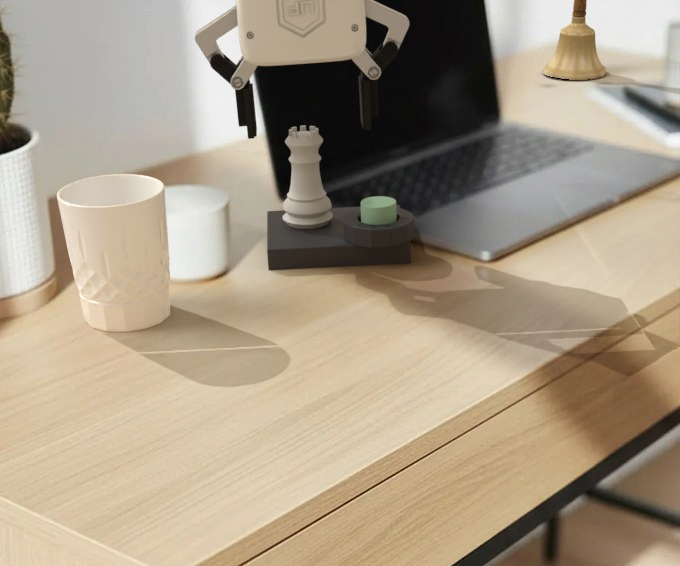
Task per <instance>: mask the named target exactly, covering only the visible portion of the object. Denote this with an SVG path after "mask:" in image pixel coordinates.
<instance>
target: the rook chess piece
mask: <svg viewBox="0 0 680 566" xmlns="http://www.w3.org/2000/svg"><path fill="white" fill-rule="evenodd" d="M323 142H324V138H323V137H322V136H321V135H320V133H319V127H316V126H315V125H309V130H307V125H306V124H305V125H300V126H299V130H298V127H297V126H292V127H290V129H288V136H287V137H286V138H285V140H284V143H285V145H286V147H288V149H289V150H290V156H289V157H288V161H289V163H290V165H291V166H290V167H291V174H290V175H291V176H290V186H289V191H288V192H287V193H286V198H285V200H284V201H283V204H282V210H284V211H285V212H286V213H285V214H284V215H283V220H284V221H285V222H286V224H287V225H289V226H290V227H293V228H298V229H314V228H319V227H322V226H325V225H327V224H328V223H329V222H330V220H331V219H332V217H333V214H332V213H331V212H330V211H329V210H330V208H333V206H332V201H331V198H330V197H328V196H327V191H325V189H324V186H323V183H322V177H321V171H320V163H321V160H322V155H320V154H319V150H320V148H321V146H322V145H323Z"/></svg>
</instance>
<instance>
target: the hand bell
mask: <svg viewBox="0 0 680 566" xmlns="http://www.w3.org/2000/svg"><path fill="white" fill-rule="evenodd" d="M587 2H588V1H587V0H574V1H573V8H572V10H573V11H572V14H571V16H572V17H571V22H570V23H569V24H568V25H567V26H564V27H563V28H561V29H560V31H559V37H558V42H557V46H556V49H555V51H554V54H553V56H552V58H551V59H550V61H549V62H548V63H547V64H546V65H545V66H544V67H543V69H542V71H543V72H544V73H545V74H547V75H549V76H552V77H557V78H561V79H569V80H568V81H590V80H597V79H600V78H603V77H605V76H606V75H607V69H606V67H605V65H603V64H602V62H601V60H600V58H599V55H598V52H597V45H596V31H595V29H594V28H592V27H590V26H589V25H588V24H587V23H586V16H587ZM561 79H560V80H561ZM588 79H590V80H588Z"/></svg>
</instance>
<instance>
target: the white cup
mask: <svg viewBox="0 0 680 566" xmlns="http://www.w3.org/2000/svg"><path fill="white" fill-rule="evenodd" d="M56 199H57V204H58V210H59V214H60V219H61V224H62V228H63V233H64V238H65V244H66V249H67V252H68V253H67V254H68V257H69V261H70V265H71V269H72V274H73V278H74V283H75V285H76V288H77V290H78V292H79V293H78V296H79V300H80V305H81V310H82V316H83V320H84V322H85V323H86V324H87V325H89V326H90V327H91V328H92V329H96V330H98V331H103V332H108V333H129V332H136V331H142V330H147V329H149V328H152V327H154V326H157V325H159V324H162V323H163V322H164V321H165V320H166V319H168V317H170V316H171V296H170V295H171V294H170V281H171V271H170V249H169V247H170V245H169V234H168V233H169V232H168V216H167V204H166V203H167V202H166V187H165V183H164V182H162V181H161V180H160V179H158V178H156V177H152V176H149V175H143V174H135V173H116V174H114V173H112V174H103V175H96V176H90V177H85V178H83V179H79V180H75V181H73V182H70V183H68V184H66V185H64V186H63V187H61V188H60V189H58V191H57V193H56Z"/></svg>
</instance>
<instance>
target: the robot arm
mask: <svg viewBox="0 0 680 566" xmlns="http://www.w3.org/2000/svg"><path fill="white" fill-rule="evenodd" d="M235 2H236V4H235V5H234V6H232V7H231V8H230V9H227V10H226V11H225V12H224V13H222V14H220V15H219V16H217V17H216V18H214V19H212V20H211V21H210V22H208V23H207V24H205V25H204V26H202V27H200V28H199V29H198V30H197V31H196V32H195V35H194V41H195V43H196V44H197V46H198V48H199V50H200V51H201V52H202V54H203V56H204V58H205V59H206V60H207V62H208V64H209V66H210V67H211V69H212V70H214V72H215V73H217V74H218V75H219V76H220V77H222V78H223V79H224V80H225V81H226V82H227V83H228V84H229V85H230V86H231V88H232V89H233V90H234V95H235V102H236V111H237V113H236V114H237V121H238V127H246V131H247V139H248V140H249V139H250V140H251V139H255V138H256V137H257V135H258V133H257V132H258V125H257V116H256V115H257V114H256V106H255V105H256V104H255V94H254V85H253V83H251V80H250V79H251V77H252V76H253V74H254V72H255V71H256V70H257V68H258V67H275V66H292V65H304V64H305V65H306V64H317V63H318V64H319V63H333V62H342V61H343V62H344V61H349V60H351V61H352V62H353V63H354V64H355V65H356V66H357V67H358V69H359V70H360V75H358V90H359V91H358V95H359V111H360V112H359V113H360V123H361V128H362V130H365V131H372V118H375V117H379V116H380V115H379V114H380V111H379V109H380V108H379V88H378V87H379V86H378V80H379V78H381V75H382V73H383V71H384V70H386V68H387V67H388V66H389V64H391V62H392V61H393V60H394V59H395V58H396V57H397V55H398V54H399V49H400V47H401V45H402V43H403V41H404V39H405V36H406V34H407V32H408V30H409V27H410V24H411V23H410V20H409V18H408V16H407V15H405V14H403V13H401V12H399V11H397V10H395V9H393V8H390V7H388V6H386V5H384V4H382V3H380V2H378V1H376V0H235ZM367 18H368V19H370V20H372V21H374V22H377V23H379V24H381V25H383V26H385V27H387V28H388V31H387V33H386V36H385V38H384V41H382V42H381V44H380V45H379V46H378V48H377V49H376V50H375V51H374V52H373V54H372V53H371V52H370V51H369V50H368V48H367V47H366V45H367ZM235 28H237V33H238V40H239V41H238V42H239V48H240V52H241V57H240V58H239V60H238V61H237V63H236V62H234V61H233V60H231V59H230V58H229V57H228V56H227V55H226V54H224V52H222V50H221V48H220V46H219V44H218V42H217V41H218V40H219V38H220V39H221V37H223V36H224V35H226V34H227V33H229V32H230V31H232V30H233V29H235Z"/></svg>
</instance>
